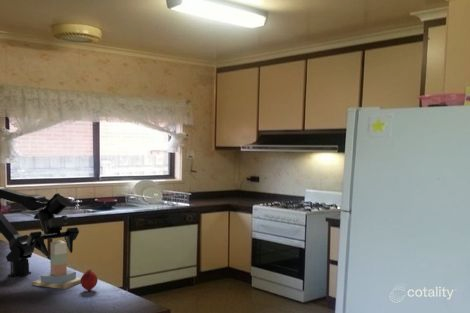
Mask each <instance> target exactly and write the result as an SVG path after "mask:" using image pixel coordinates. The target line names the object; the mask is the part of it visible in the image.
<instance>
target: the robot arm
mask: <svg viewBox="0 0 470 313" xmlns="http://www.w3.org/2000/svg"><path fill="white" fill-rule="evenodd" d="M2 199H3V200H7V201H10V202H12V203H17V204H19V205H21V206H22V207H23V208H24V209H26V210H28V211H31V212H34V211H38V212H36V213H35V215H34V216H33V220H38V221H39V222H40V226H41V230H40V231H39V230H38V231H31V232H30V233H29V235H28V234H24V235H21V234H20V233H19V232H18V230H17V229H16V228H15V227H14V226H13V225H12V223H11V222H10V221H9V220H8V219H7V217H6V216H5V215H4V214H3V213H2V212H1V211H0V234H2V235H3V237H4V238H5V240H6V241H7V242H8V248H9V250H10V251H9V253H8V254H6V255H5V258H6V262H8V263H9V262H10V265H9V266H10V273H7V276H9V277H18V278H21V277H23V276H26V275H29V274H32V271H30V263H29V259H31V258H32V255H33V253H34V251H35V249H36V250H38V251H40V253H42V254H43V255H44V256H46V257H47V258H48V257H49V256H50V255H49V254H50V253H49V251H48V248H47V246H46V243H45V240H54V239H61V238H63V239H64V241H65V242H66V243H67V250H68V251H69V253H71V254H72V253H73V249H74V248H73V247H74V244H73V243H74V241H75V240H77V237H78V235H79V233H80V229H79V228H78V226H73V227H67V228H66V230H65V231H63V232H61V231H62V230H63V227H64V226H65V225H67V224H68V223H69V218H68V216H67V214H66V215H61V216H57V215H60V214H61V213H62V212H63V211H65V209H67V208H68V207H69V205H70V202H69V200H68V199H67V198H66V197H65V196H63V195H61V194H60V193H58V192H57V193H54V195H52V197H51V198H50V199H49V198H46V196H45V195H42V194H27V193H23V192H19V191H17V190H12V189H9V188H5V187H4V186H0V201H1V200H2ZM55 215H56V216H57V217H56V216H55ZM42 232H43V233H42Z"/></svg>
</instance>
